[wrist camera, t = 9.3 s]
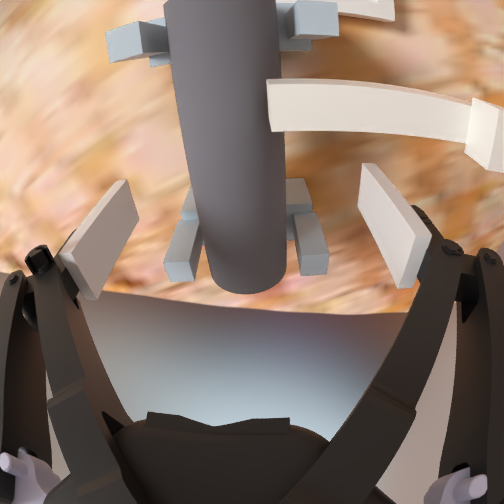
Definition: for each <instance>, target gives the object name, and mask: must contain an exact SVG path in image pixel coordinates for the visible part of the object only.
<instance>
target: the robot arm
mask: <svg viewBox="0 0 504 504" xmlns="http://www.w3.org/2000/svg"><path fill="white" fill-rule="evenodd" d="M357 207H358V209H359V210H360V212H361V214H362V216H363V218H364V220H365V222H366V224H367V226H368V227H369V229H370V231H371V233H372V235H373V237H374V239H375V241H376V243H377V245H378V247H379V250H380V252H381V254H382V256H383V258H384V260H385V262H386V264H387V267H388V269H389V271H390V273H391V275H392V278H393V280H394V282H395V284H396V287H397V289H404V288H413V286H414V283H415V281H416V278H418V280H419V282H420V286H419V289H418V291H417V293H416V296H415V298H414V300H413V303H412V305H411V307H410V309H409V311H408V314H407V316H406V318H405V320H404V322H403V324H402V326H401V328H400V330H399V332H398V334H397V336H396V338H395V340H394V342H393V344H392V346H391V348H390V350H389V352H388V354H387V355H386V357H385V359H384V361H383V362H382V364H381V366H380V368H379V369H378V371H377V373H376V374H375V376H374V378H373V379H372V381H371V383H370V385H369V386H368V388H367V389H366V391H365V393H364V394H363V396H362V397H361V399H360V400H359V402H358V403H357V405H356V406H355V408H354V409H353V411H352V412H351V414H350V415H349V417H348V418H347V419H346V421H345V422H344V424H343V425H342V426H341V428H340V429H339V430H338V432H337V433H336V434H335V436H334V437H333V438H332V440H331V441H330V442H329V441H328V440H326V439H325V438H323V437H322V436H321V435H319V434H317V433H315V432H313V431H311V430H309V429H306V428H303V427H299V426H295V425H290V418H268V419H250V420H245V421H241V422H236V423H232V424H227V425H221V426H210V425H207V424H203V423H200V422H197V421H194V420H191V419H188V418H185V417H183V416H180V415H171V414H163V413H155V412H148V413H147V418H146V419H145V420H141V421H137V422H133V421H132V420H131V419H130V417H129V416H128V415H127V413H126V412H125V410H124V408H123V406H122V404H121V402H120V400H119V398H118V396H117V394H116V392H115V390H114V388H113V386H112V384H111V382H110V379H109V377H108V375H107V373H106V371H105V368H104V366H103V364H102V361H101V359H100V356H99V354H98V352H97V349H96V347H95V344H94V342H93V339H92V336H91V334H90V331H89V328H88V325H87V323H86V320H85V317H84V314H83V311H82V308H81V305H80V302H79V300H78V299H77V297H76V296H77V294H78V292H79V291H80V292H81V294H82V296H83V297H84V299H88V300H89V299H90V300H97V299H98V297H99V295H100V292H101V291H102V289H103V287H104V284H105V282H106V280H107V278H108V276H109V274H110V272H111V270H112V268H113V266H114V264H115V263H116V261H117V259H118V257H119V255H120V253H121V251H122V249H123V247H124V246H125V244H126V242H127V240H128V238H129V237H130V235H131V233H132V231H133V229H134V228H135V226H136V224H137V222H138V221H139V216H138V213H137V210H136V207H135V204H134V200H133V197H132V194H131V191H130V187H129V184H128V180H127V179H126V180H120V181H116V182H115V183H114V184H113V185H112V186H111V188H110V189H109V190H108V191H107V192H106V193H105V194H104V196H103V197H102V198H101V199H100V200H99V202H98V203H97V204H96V205H95V206H94V208H93V209H92V210H91V211H90V213H89V214H88V215H87V216H86V218H85V219H84V220H83V221H82V223H81V224H80V225H79V227H78V228H77V229H75V230H74V231H73V232H72V233H71V235H70V236H69V237H68V239H67V240H66V242H65V243H64V245H63V246H62V247H61V248H60V250H59V251H58V253H57V254H56V256H55V257H54V258H53V257H52V255H51V253H50V251H49V249H48V247H47V245H39V246H37V247H35V248H34V249H33V250H31V251H30V252H29V253H28V255H27V256H26V258H25V262H26V264H27V266H28V267H29V269H30V271H31V272H32V274H33V275H32V276H29V277H26V276H25V275H24V273H23V272H22V270H17V271H15V272H13V273H11V275H9V276H8V278H7V279H6V281H5V283H4V286H3V289H2V293H1V296H0V504H396V503H395V502H394V501H393V500H391V499H390V498H389V497H388V496H387V495H385V494H384V493H383V492H382V491H381V490H380V489H379V488H378V487H376V486H375V485H376V484H377V482H378V481H379V479H380V478H381V476H382V475H383V473H384V472H385V470H386V469H387V467H388V465H389V464H390V462H391V461H392V459H393V458H394V456H395V454H396V453H397V451H398V449H399V447H400V446H401V444H402V442H403V440H404V439H405V437H406V435H407V433H408V431H409V429H410V427H411V425H412V423H413V421H414V419H415V417H416V410H415V407H416V404H417V402H418V400H419V398H420V396H421V394H422V391H423V389H424V387H425V385H426V382H427V380H428V377H429V375H430V373H431V370H432V368H433V365H434V362H435V360H436V357H437V354H438V352H439V349H440V346H441V343H442V340H443V337H444V334H445V331H446V328H447V325H448V321H449V318H450V315H451V311H452V308H453V304H454V301H456V302H457V349H456V365H455V378H454V387H453V396H452V403H451V410H450V416H449V422H448V427H447V432H446V438H445V442H444V446H443V451H442V456H441V461H440V468H439V476H438V480H436V481H435V482H434V483H433V484H432V485H431V486H430V488H429V490H428V492H427V493H426V494H425V496H424V504H504V265H503V262H502V260H501V258H500V257H499V255H498V254H497V253H496V252H494V251H493V250H491V249H489V248H481V249H480V250H479V251H478V254H477V256H471V255H467V254H464V251H463V249H462V248H461V247H460V246H459V245H458V244H457V243H455V242H453V241H451V240H448V239H444V238H443V237H442V235H441V234H440V232H439V231H438V230H437V228H436V227H435V226H434V224H432V222H431V220H430V219H428V217H427V215H426V214H425V213H424V211H422V210H421V209H420V208H418V207H417V206H415V205H410V204H409V203H408V202H407V201H406V199H405V198H404V197H403V196H402V194H401V193H400V192H399V191H398V189H397V188H396V187H395V186H394V185H393V183H392V182H391V181H390V180H389V179H388V178H387V176H386V175H385V174H384V173H383V172H382V171H381V170H380V168H379V167H378V166H377V165H376V164H375V163H362V171H361V180H360V189H359V197H358V205H357ZM23 314H24V315H25V318H24V316H23ZM46 371H47V375H48V379H49V383H50V387H51V391H52V394H53V398H51V399H49V400H48V402H47V399H46ZM47 409H48V412H49V416H50V419H51V422H52V425H53V428H54V431H55V435H56V437H57V440H58V443H59V446H60V448H61V451H62V454H63V456H64V459H65V461H66V463H67V466H68V468H69V470H70V473H71V474H69V475H68V476H67V477H66V478H65V479H64V480H62V481H61V480H60V478H59V477H58V475H56V474H54V473H53V471H52V455H51V453H52V452H51V442H50V433H49V425H48V414H47Z"/></svg>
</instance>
